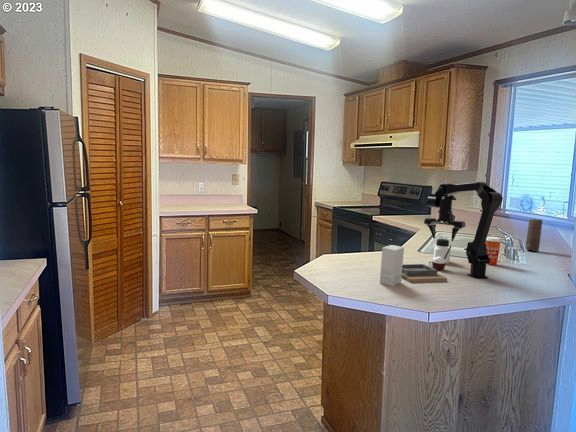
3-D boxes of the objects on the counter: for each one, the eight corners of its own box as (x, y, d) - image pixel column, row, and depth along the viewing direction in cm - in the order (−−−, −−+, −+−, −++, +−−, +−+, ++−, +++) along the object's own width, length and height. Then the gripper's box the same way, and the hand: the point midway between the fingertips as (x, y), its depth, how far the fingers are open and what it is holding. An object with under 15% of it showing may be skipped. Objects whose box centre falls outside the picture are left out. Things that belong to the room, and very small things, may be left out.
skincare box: (388, 279, 189) (390, 244, 187) (402, 283, 185) (405, 246, 183) (378, 283, 182) (381, 247, 180) (393, 286, 178) (396, 249, 176)
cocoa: (427, 269, 212) (428, 245, 210) (431, 266, 217) (432, 243, 215) (447, 272, 206) (448, 247, 205) (451, 269, 211) (452, 245, 210)
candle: (539, 253, 264) (543, 220, 261) (525, 251, 267) (529, 219, 264) (538, 251, 271) (541, 219, 268) (524, 249, 274) (528, 218, 271)
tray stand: (447, 281, 190) (447, 273, 190) (409, 282, 186) (410, 274, 185) (420, 268, 211) (420, 261, 211) (386, 269, 207) (386, 262, 206)
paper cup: (482, 264, 226) (484, 237, 225) (483, 261, 233) (485, 235, 231) (498, 266, 223) (501, 239, 221) (499, 263, 230) (502, 237, 228)
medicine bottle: (449, 263, 224) (451, 241, 223) (434, 262, 226) (436, 239, 224) (447, 260, 231) (449, 238, 230) (433, 259, 233) (435, 237, 231)
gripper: (470, 209, 216) (467, 240, 218) (433, 206, 228) (431, 235, 229) (462, 210, 207) (460, 243, 209) (424, 207, 219) (422, 238, 221)
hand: (443, 239), depth 217 cm, fingers open, 9 cm apart
